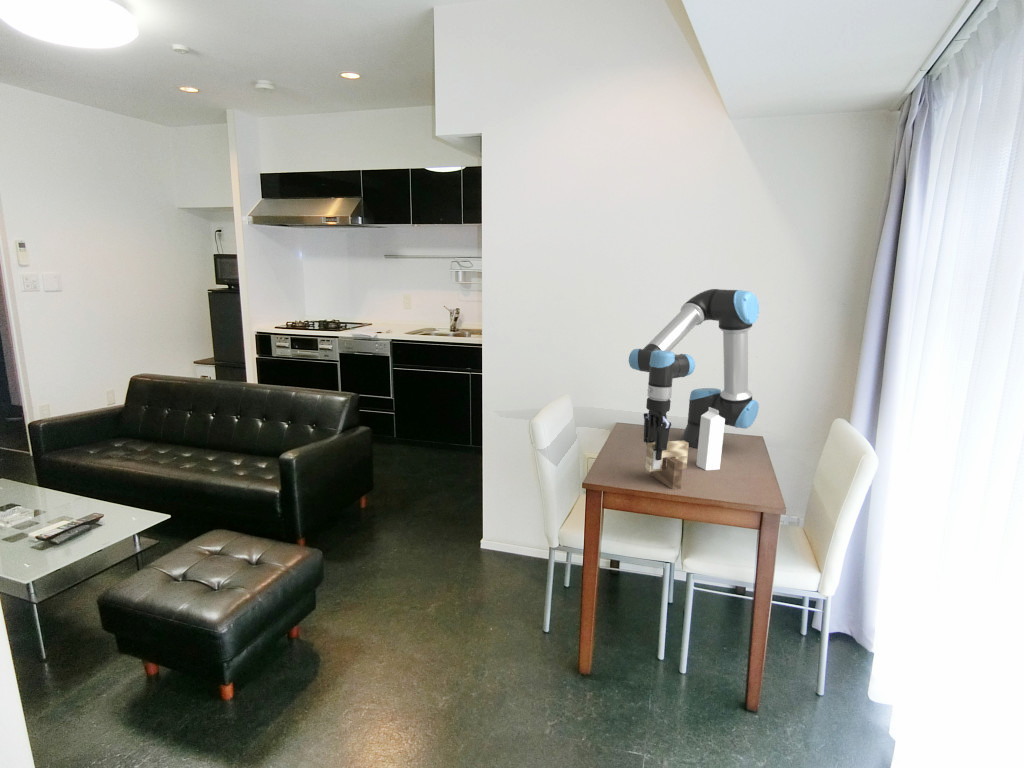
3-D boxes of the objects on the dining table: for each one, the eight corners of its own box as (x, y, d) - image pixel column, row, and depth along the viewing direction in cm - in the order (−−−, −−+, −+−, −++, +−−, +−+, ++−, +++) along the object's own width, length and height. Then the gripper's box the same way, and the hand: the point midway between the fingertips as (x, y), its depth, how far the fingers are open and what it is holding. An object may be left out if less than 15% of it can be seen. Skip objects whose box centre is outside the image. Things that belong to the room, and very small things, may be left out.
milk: (705, 470, 210) (711, 411, 206) (695, 465, 216) (701, 407, 211) (720, 469, 212) (726, 410, 207) (710, 463, 218) (715, 406, 213)
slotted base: (657, 473, 205) (659, 449, 204) (680, 488, 192) (682, 462, 191) (650, 474, 204) (652, 449, 203) (672, 489, 191) (674, 462, 190)
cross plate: (681, 465, 201) (683, 440, 199) (686, 468, 198) (688, 443, 196) (645, 468, 197) (647, 442, 195) (649, 471, 194) (651, 445, 192)
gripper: (636, 393, 198) (631, 459, 202) (662, 404, 182) (655, 476, 187) (655, 392, 200) (650, 458, 204) (683, 403, 185) (676, 474, 189)
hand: (653, 466), depth 196 cm, fingers closed on cross plate, 3 cm apart
